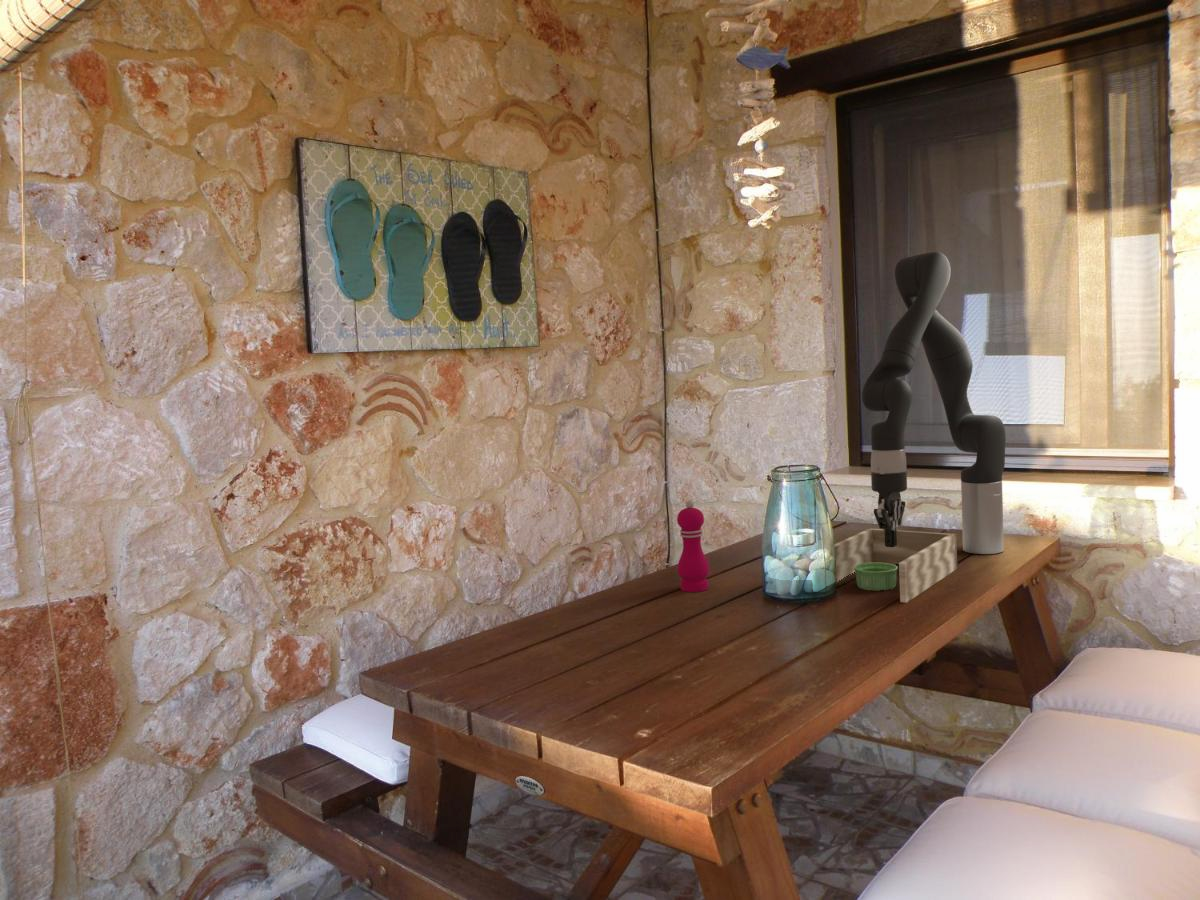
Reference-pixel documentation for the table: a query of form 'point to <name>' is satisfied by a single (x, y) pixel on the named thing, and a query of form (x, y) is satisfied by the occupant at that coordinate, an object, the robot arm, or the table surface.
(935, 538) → the wooden c-shaped frame
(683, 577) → the pepper mill
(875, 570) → the ramekin
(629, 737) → the table surface
